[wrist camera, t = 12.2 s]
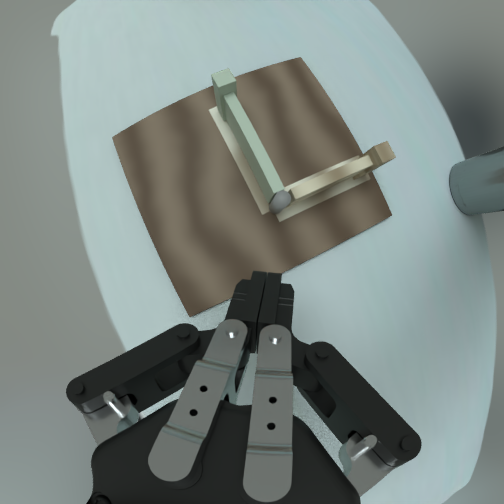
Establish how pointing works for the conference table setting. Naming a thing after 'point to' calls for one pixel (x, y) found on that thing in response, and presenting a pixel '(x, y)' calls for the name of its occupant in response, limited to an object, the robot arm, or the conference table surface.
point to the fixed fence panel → (343, 173)
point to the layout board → (244, 183)
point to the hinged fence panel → (249, 140)
